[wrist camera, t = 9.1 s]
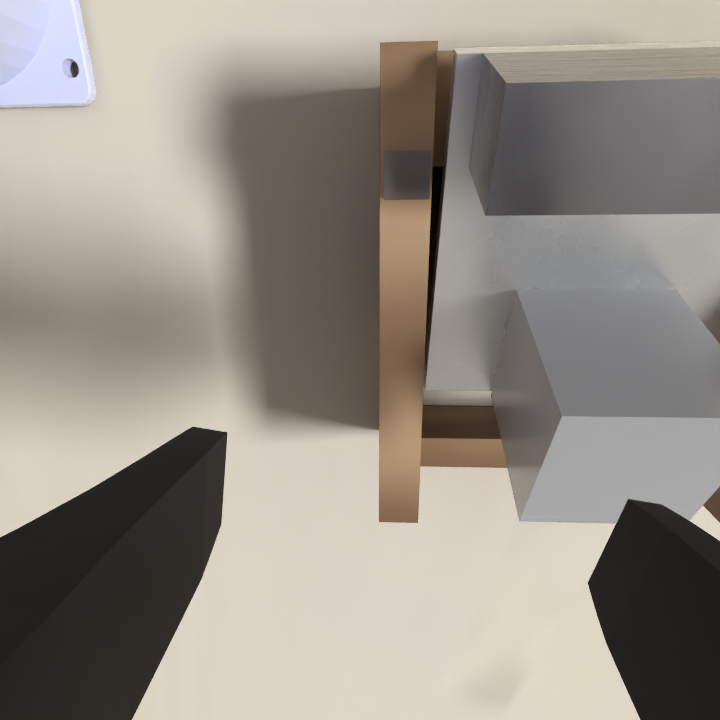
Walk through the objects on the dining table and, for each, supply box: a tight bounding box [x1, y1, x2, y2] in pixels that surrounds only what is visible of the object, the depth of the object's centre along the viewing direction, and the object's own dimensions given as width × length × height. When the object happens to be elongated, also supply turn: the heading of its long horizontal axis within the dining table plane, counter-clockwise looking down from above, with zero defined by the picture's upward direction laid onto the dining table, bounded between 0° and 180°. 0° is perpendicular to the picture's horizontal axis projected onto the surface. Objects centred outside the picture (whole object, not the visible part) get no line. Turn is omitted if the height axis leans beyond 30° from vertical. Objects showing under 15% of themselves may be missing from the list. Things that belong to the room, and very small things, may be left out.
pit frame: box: [379, 41, 720, 523], centre depth 14 cm, size 13×12×6 cm
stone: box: [491, 289, 720, 523], centre depth 12 cm, size 4×4×4 cm
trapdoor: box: [424, 41, 720, 391], centre depth 11 cm, size 10×9×3 cm
